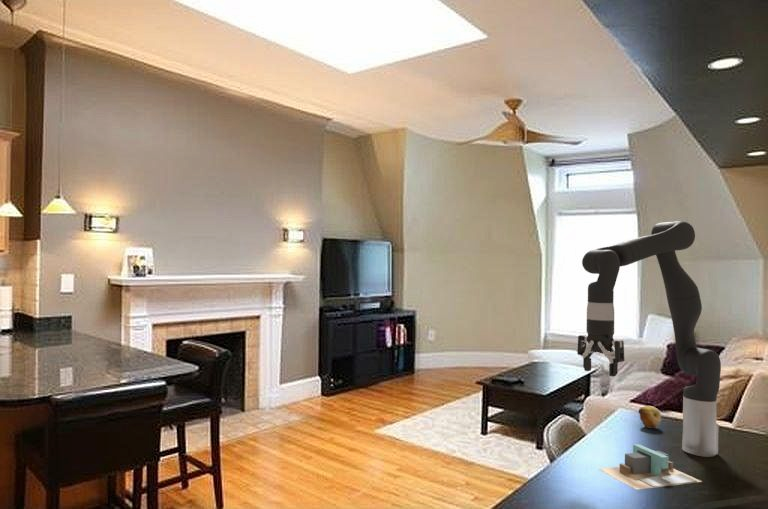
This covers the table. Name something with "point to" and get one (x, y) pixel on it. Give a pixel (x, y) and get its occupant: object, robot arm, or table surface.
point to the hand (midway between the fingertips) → (599, 373)
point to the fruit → (650, 416)
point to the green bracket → (653, 458)
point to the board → (649, 477)
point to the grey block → (640, 462)
